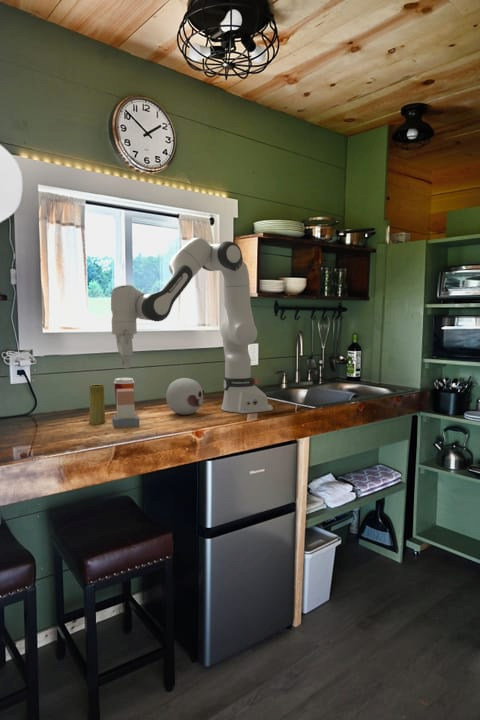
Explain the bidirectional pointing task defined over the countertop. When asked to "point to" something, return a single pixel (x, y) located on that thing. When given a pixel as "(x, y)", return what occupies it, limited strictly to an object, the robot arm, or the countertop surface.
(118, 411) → the brick
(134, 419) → the base
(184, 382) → the toy
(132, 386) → the coffee cup
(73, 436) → the countertop surface
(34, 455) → the countertop surface
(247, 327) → the robot arm
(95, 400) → the vase
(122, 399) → the brick
